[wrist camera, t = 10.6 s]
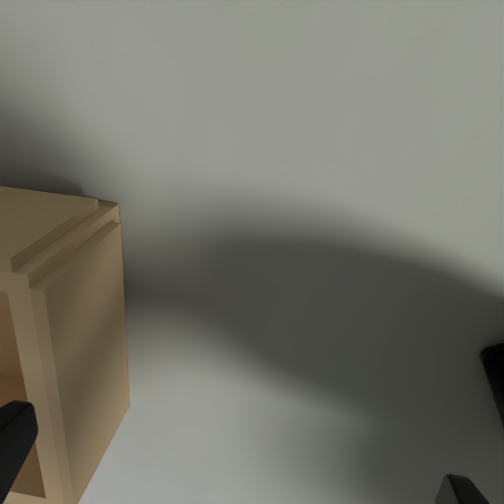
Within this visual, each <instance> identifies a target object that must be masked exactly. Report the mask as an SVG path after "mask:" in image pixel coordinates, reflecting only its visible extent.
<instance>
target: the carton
mask: <svg viewBox="0 0 504 504" xmlns="http://www.w3.org/2000/svg"><path fill="white" fill-rule="evenodd" d="M13 400H21V401H27V402H31V403H32V404H33V405H34V408H35V413H36V418H37V423H38V435H37V438H36V441H35V443H34V444H33V446H32V448H31V450H30V452H29V454H28V456H27V458H26V460H25V462H24V464H23V466H22V468H21V470H20V472H19V474H18V476H17V478H16V480H15V482H14V484H13V486H12V487H11V489H10V491H9V493H8V495H7V497H6V499H5V501H4V503H3V504H78V503H79V501H80V499H81V497H82V495H83V493H84V491H85V490H86V488H87V486H88V484H89V482H90V480H91V478H92V476H93V474H94V472H95V470H96V469H97V467H98V465H99V463H100V461H101V459H102V457H103V455H104V453H105V451H106V450H107V448H108V446H109V444H110V442H111V440H112V438H113V436H114V434H115V432H116V431H117V429H118V427H119V425H120V423H121V421H122V419H123V417H124V415H125V413H126V412H127V410H128V408H129V406H130V401H129V381H128V360H127V339H126V319H125V298H124V277H123V257H122V236H121V223H120V217H119V204H116V203H108V202H101V201H98V199H94V198H87V197H79V196H72V195H64V194H57V193H49V192H42V191H35V190H27V189H20V188H12V187H5V186H0V407H2V406H3V405H5V404H7V403H9V402H11V401H13Z"/></svg>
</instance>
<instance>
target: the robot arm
mask: <svg viewBox="0 0 504 504" xmlns="http://www.w3.org/2000/svg"><path fill="white" fill-rule="evenodd" d="M491 357H496V358H495V359H493V360H489V359H490V358H491ZM480 360H481V363H482V366H483V369H484V372H485V375H486V378H487V381H488V384H489V387H490V389H491V392H492V395H493V398H494V401H495V404H496V407H497V410H498V413H499V416H500V419H501V422H502V425H503V428H504V343H503V344H500V345H496V346H492V347H488V348H486V349H484V350H483V351H482V352H481V354H480ZM37 435H38V423H37V418H36V413H35V408H34V405H33V404H32V403H31V402H27V401H21V400H13V401H11V402H9V403H7V404H5V405H3V406H2V407H0V504H3V503H4V501H5V499H6V497H7V495H8V493H9V491H10V489H11V487H12V486H13V484H14V482H15V480H16V478H17V476H18V474H19V472H20V470H21V468H22V466H23V464H24V462H25V460H26V458H27V456H28V454H29V452H30V450H31V448H32V446H33V444H34V443H35V441H36V438H37ZM435 504H489V502H488V501H487V500H486V499H485V497H484V496H483V495H482V494H481V492H480V491H479V490H478V489H477V488H476V486H475V485H474V484H473V483H472V481H471V480H470V479H468V478H467V477H464V476H460V475H454V474H447V475H445V476H444V478H443V481H442V483H441V486H440V489H439V491H438V494H437V497H436V500H435Z"/></svg>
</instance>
